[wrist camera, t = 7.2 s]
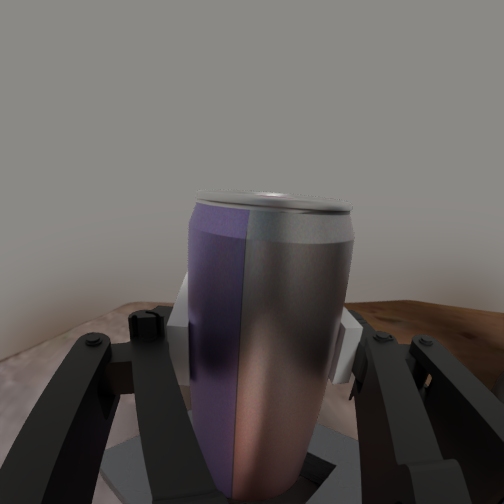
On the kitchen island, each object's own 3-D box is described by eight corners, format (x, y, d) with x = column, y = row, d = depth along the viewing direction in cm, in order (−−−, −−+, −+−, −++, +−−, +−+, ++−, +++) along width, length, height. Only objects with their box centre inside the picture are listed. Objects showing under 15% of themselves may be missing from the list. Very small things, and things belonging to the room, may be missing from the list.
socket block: (237, 406, 24) (239, 382, 24) (377, 476, 16) (391, 453, 15) (102, 478, 14) (91, 455, 13) (260, 615, 5) (268, 612, 5)
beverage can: (179, 485, 12) (155, 190, 9) (220, 423, 18) (228, 188, 14) (285, 517, 10) (363, 208, 7) (307, 444, 16) (355, 201, 13)
